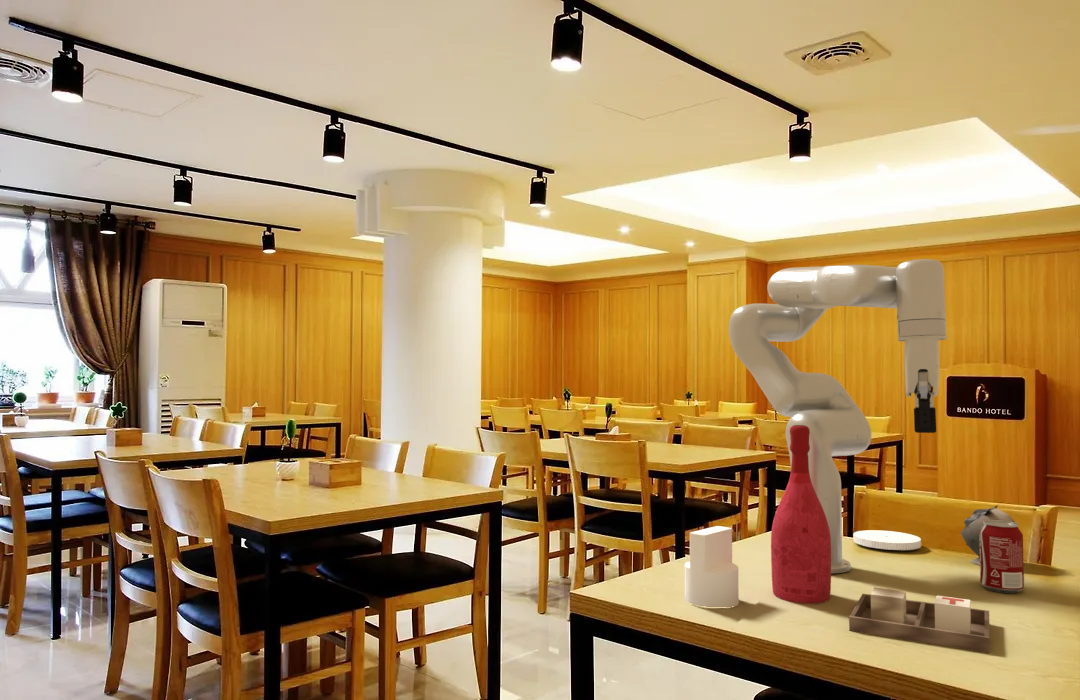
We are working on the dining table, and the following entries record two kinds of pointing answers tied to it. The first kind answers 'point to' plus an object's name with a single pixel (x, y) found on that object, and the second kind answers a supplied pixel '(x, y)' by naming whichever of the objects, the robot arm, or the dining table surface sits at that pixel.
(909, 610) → the organiser
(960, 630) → the letter cube
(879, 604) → the plain cube
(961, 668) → the dining table surface
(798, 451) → the wine bottle
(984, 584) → the soda can
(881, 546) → the plastic lid
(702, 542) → the cylinder with rectangular tab
